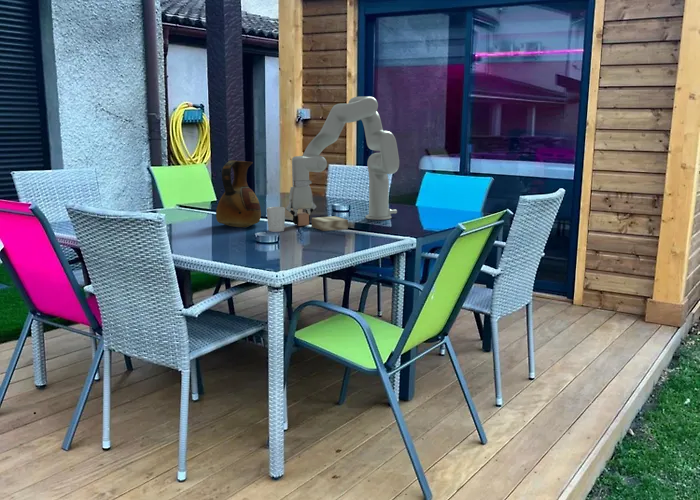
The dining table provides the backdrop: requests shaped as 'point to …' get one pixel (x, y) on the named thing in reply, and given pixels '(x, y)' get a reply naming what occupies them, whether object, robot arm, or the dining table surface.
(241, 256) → the dining table surface
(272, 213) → the white cup
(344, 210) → the dining table surface
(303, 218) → the cube
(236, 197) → the ceramic pitcher
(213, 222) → the dining table surface
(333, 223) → the plinth
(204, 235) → the dining table surface
